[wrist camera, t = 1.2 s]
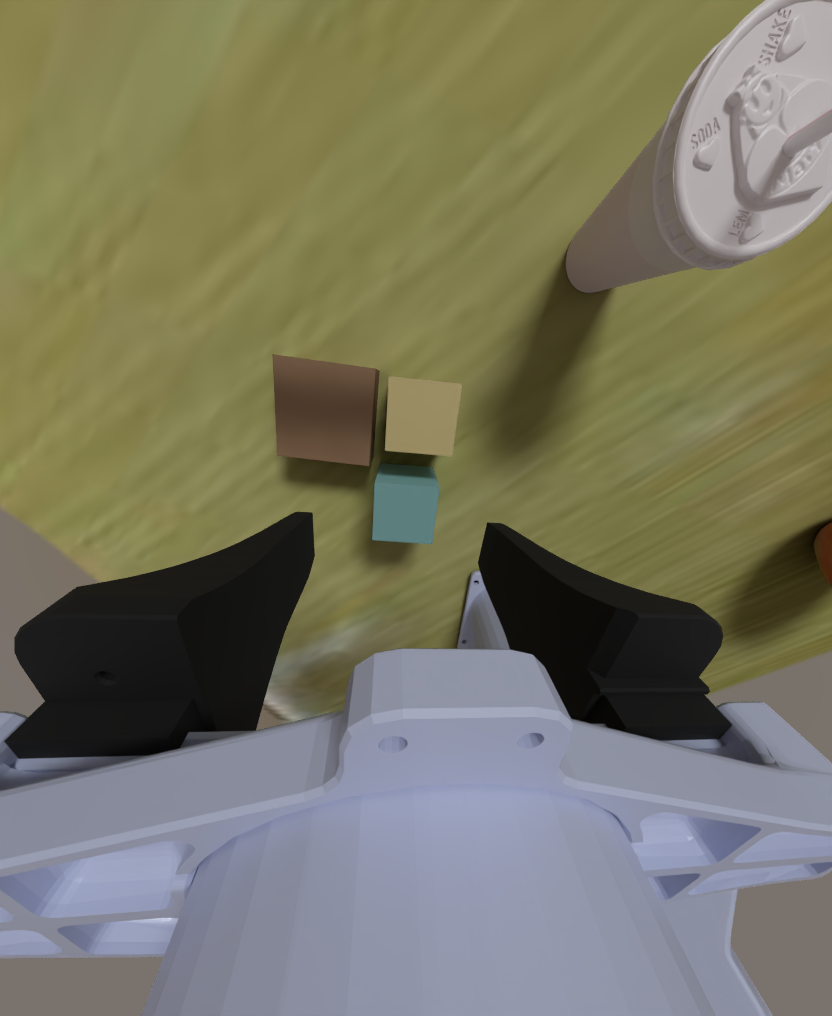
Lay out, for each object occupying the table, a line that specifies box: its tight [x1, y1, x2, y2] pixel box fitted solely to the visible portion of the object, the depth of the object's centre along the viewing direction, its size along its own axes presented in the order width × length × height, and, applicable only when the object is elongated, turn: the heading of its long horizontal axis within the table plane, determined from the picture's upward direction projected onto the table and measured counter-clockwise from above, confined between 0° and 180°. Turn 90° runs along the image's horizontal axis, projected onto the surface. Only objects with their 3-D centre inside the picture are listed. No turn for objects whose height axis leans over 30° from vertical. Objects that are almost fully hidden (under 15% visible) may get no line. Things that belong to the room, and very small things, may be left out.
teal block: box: [372, 463, 439, 544], centre depth 21 cm, size 4×4×5 cm
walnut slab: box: [273, 355, 379, 466], centre depth 20 cm, size 6×6×3 cm
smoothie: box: [566, 0, 832, 293], centre depth 12 cm, size 6×6×14 cm
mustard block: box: [385, 377, 462, 456], centre depth 19 cm, size 4×4×5 cm
